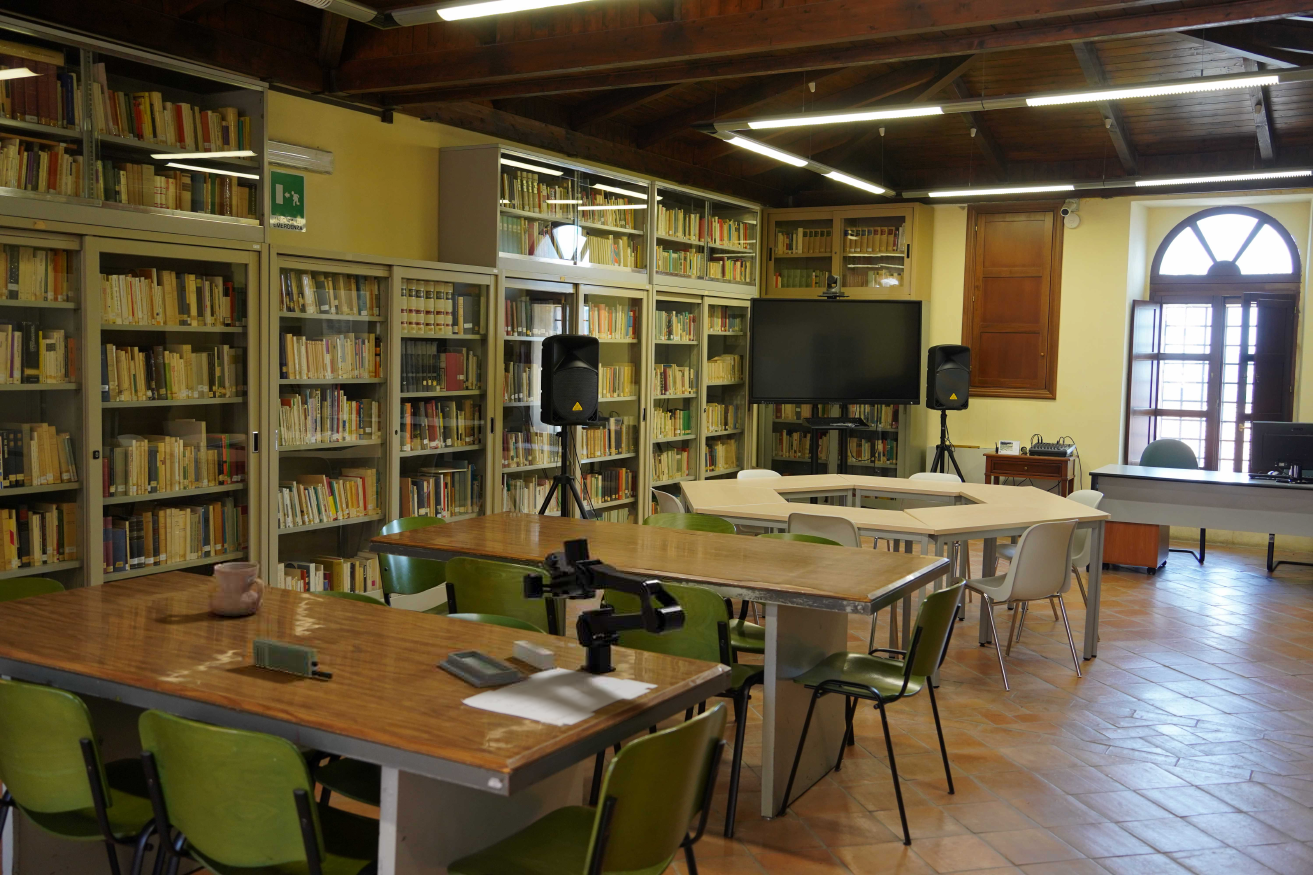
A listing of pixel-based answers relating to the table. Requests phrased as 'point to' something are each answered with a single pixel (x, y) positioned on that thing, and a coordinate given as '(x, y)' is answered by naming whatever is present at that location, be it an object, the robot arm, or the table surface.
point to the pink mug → (237, 589)
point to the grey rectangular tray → (480, 669)
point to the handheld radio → (287, 657)
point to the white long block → (534, 655)
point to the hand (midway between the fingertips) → (538, 591)
